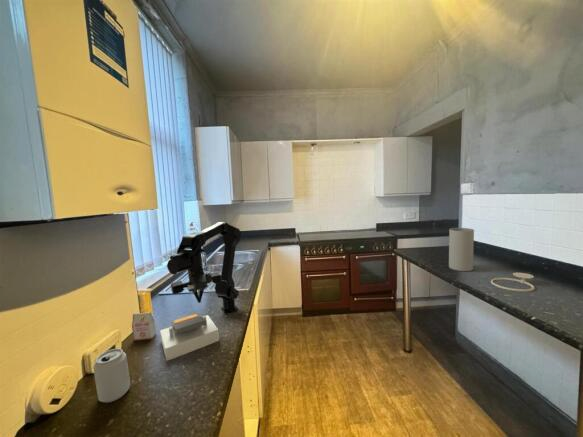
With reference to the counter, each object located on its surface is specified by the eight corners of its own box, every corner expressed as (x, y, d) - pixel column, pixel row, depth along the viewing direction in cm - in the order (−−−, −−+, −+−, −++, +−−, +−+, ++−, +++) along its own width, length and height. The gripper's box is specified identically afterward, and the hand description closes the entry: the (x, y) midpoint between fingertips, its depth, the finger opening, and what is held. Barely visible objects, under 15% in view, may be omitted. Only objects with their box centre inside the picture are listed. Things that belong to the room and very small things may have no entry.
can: (93, 398, 69) (87, 358, 67) (123, 380, 75) (117, 343, 74) (105, 409, 65) (99, 367, 64) (135, 389, 71) (130, 351, 70)
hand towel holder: (482, 274, 132) (510, 269, 137) (482, 282, 133) (510, 276, 138) (518, 285, 116) (549, 279, 121) (518, 294, 116) (548, 287, 122)
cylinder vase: (465, 265, 160) (466, 227, 158) (477, 271, 148) (478, 230, 145) (444, 265, 162) (445, 228, 159) (455, 272, 149) (456, 231, 146)
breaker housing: (161, 341, 94) (159, 322, 93) (208, 325, 104) (207, 307, 103) (166, 361, 83) (163, 339, 82) (219, 340, 93) (217, 321, 92)
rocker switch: (171, 326, 96) (170, 321, 96) (198, 317, 101) (198, 313, 101) (176, 334, 84) (175, 329, 84) (207, 324, 90) (206, 318, 90)
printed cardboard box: (138, 334, 100) (135, 311, 99) (156, 333, 100) (153, 310, 99) (133, 340, 96) (130, 316, 95) (151, 338, 96) (148, 314, 95)
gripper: (172, 277, 86) (177, 318, 88) (224, 265, 96) (228, 302, 98) (168, 269, 95) (173, 306, 97) (216, 259, 105) (219, 293, 107)
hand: (199, 302), depth 100 cm, fingers closed
